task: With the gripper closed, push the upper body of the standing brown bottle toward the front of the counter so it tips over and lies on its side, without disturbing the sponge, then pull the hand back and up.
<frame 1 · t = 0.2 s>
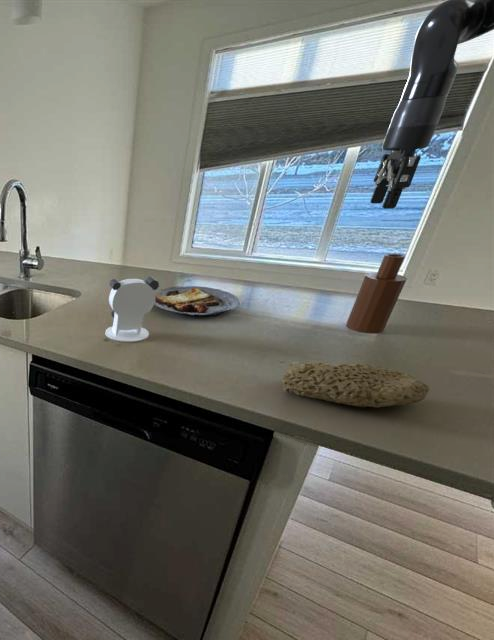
hand: (381, 205, 94), 28 cm above the countertop, tool pointing down, fingers open, 8 cm apart
panda figurine: (127, 334, 111), on the countertop
food plate: (190, 306, 124), on the countertop
sponge: (344, 399, 77), on the countertop
bottle: (364, 327, 102), on the countertop
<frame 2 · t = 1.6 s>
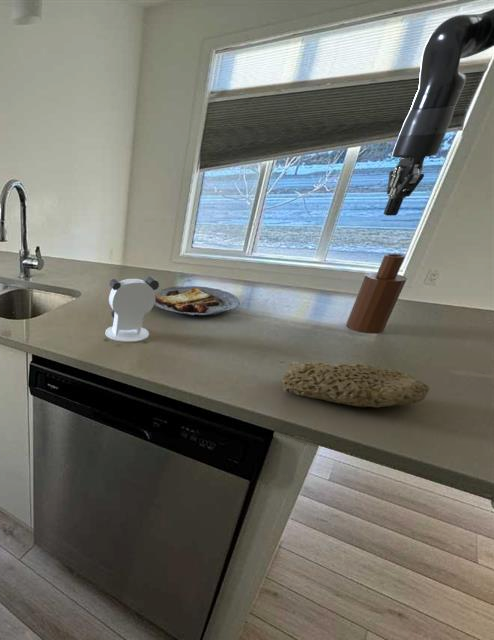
hand: (389, 214, 99), 25 cm above the countertop, tool pointing down, fingers closed
nothing on the countertop moved.
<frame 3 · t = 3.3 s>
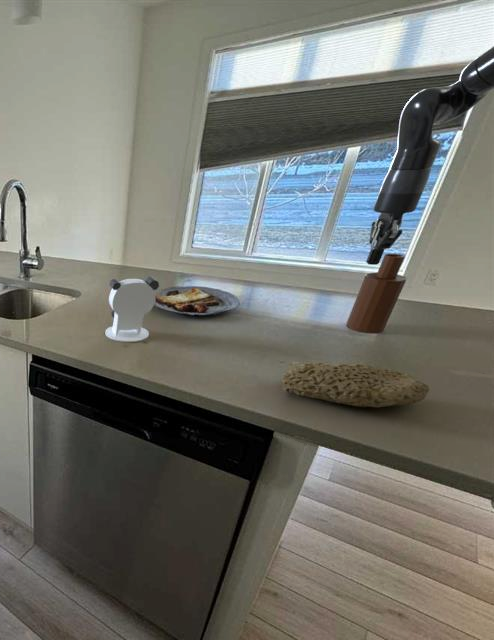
hand: (371, 263, 104), 13 cm above the countertop, tool pointing down, fingers closed
nothing on the countertop moved.
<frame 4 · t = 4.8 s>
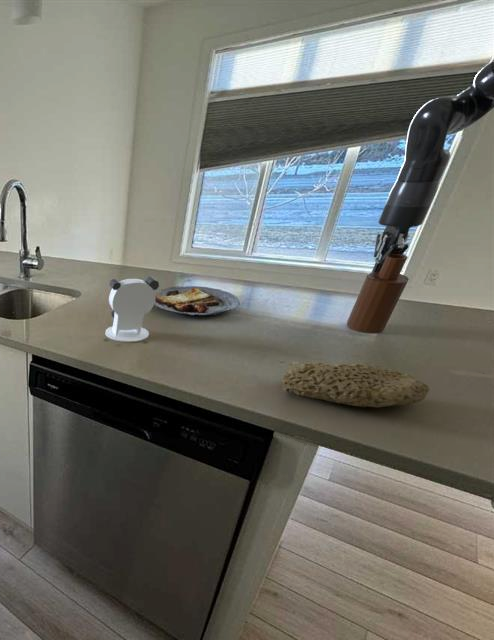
hand: (376, 277, 100), 11 cm above the countertop, tool pointing down, fingers closed
bottle: (364, 326, 102), on the countertop, tilted 6°, touching hand
everything else where it was.
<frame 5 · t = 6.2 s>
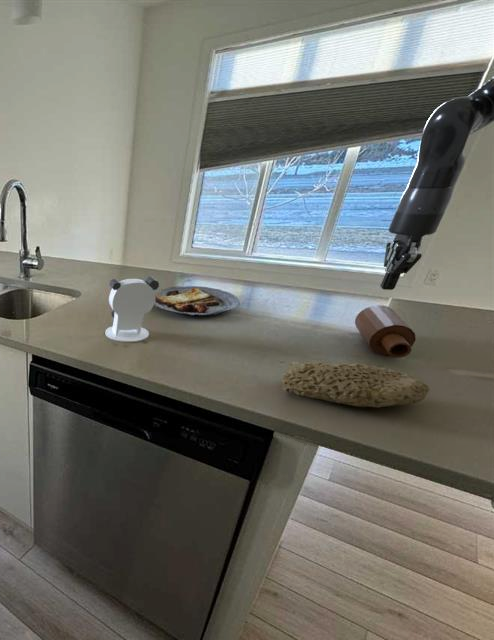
hand: (386, 288, 95), 11 cm above the countertop, tool pointing down, fingers closed
bottle: (374, 319, 97), point 4 cm above the countertop, tilted 90°
everything else where it was.
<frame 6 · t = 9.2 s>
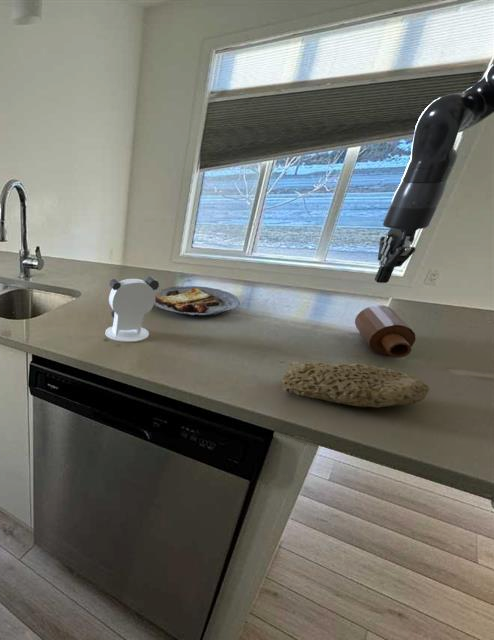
hand: (380, 281, 97), 12 cm above the countertop, tool pointing down, fingers closed
nothing on the countertop moved.
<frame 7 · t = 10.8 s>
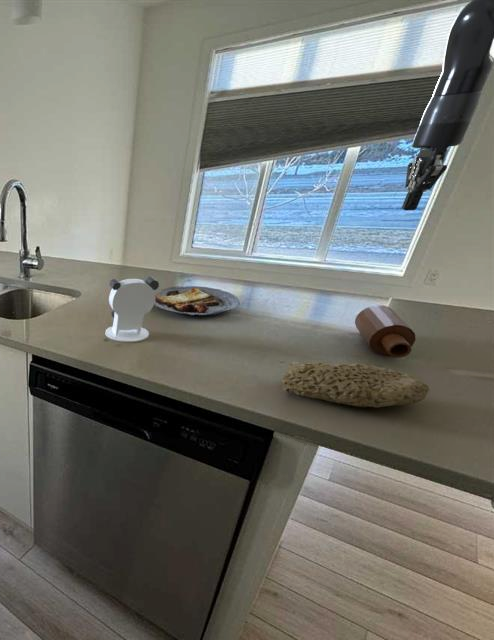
hand: (408, 209, 93), 27 cm above the countertop, tool pointing down, fingers closed
nothing on the countertop moved.
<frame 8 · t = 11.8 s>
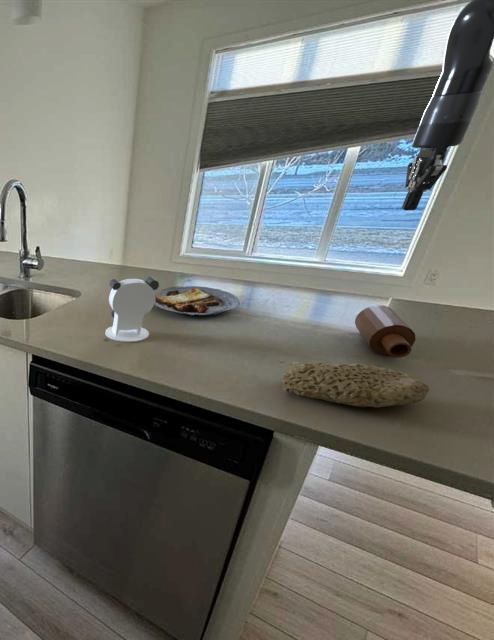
hand: (408, 209, 93), 27 cm above the countertop, tool pointing down, fingers closed
nothing on the countertop moved.
at the end: bottle tilted 90°; bottle inside the target area (1.1 cm from its centre), point 3.6 cm above the countertop; sponge moved 0.2 cm from its start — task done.
